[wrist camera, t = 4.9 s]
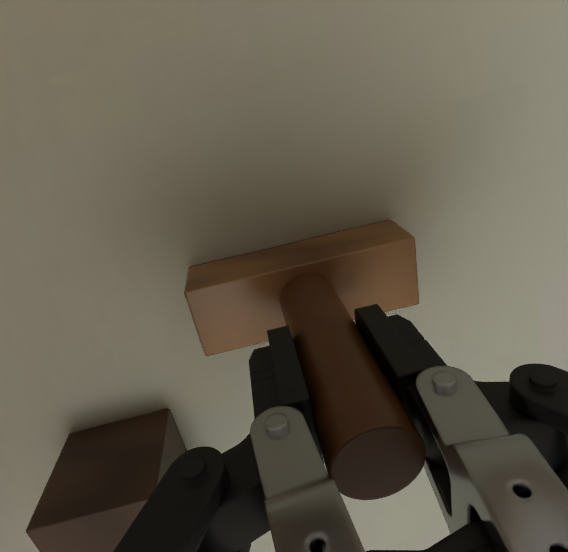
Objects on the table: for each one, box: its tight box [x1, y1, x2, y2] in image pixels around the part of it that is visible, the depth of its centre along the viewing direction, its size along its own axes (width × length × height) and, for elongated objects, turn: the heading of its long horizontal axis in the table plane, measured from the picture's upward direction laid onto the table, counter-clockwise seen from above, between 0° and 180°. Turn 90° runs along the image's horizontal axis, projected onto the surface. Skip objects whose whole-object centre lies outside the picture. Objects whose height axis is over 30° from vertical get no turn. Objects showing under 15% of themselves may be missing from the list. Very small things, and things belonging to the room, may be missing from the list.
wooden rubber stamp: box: [184, 220, 426, 500], centre depth 14 cm, size 9×3×10 cm, turn 101°
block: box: [26, 409, 187, 552], centre depth 19 cm, size 5×5×5 cm
